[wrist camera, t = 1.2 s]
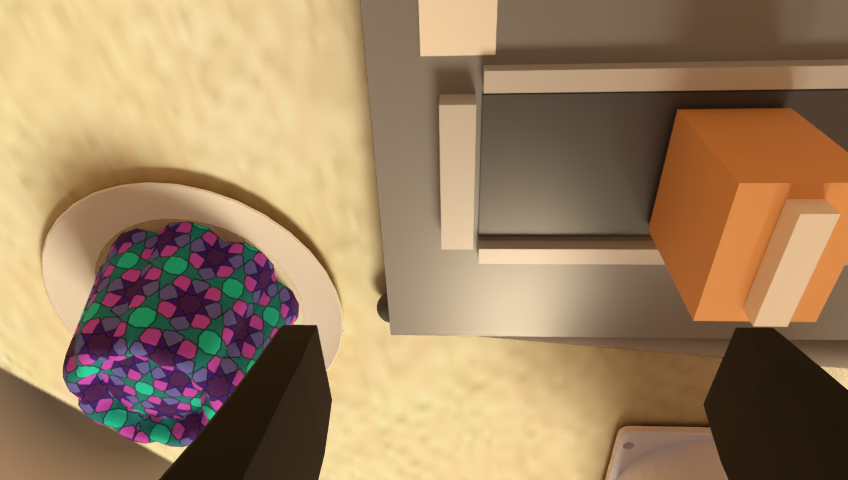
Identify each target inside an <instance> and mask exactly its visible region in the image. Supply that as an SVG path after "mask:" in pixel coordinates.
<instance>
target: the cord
mask: <svg viewBox="0 0 848 480" xmlns="http://www.w3.org/2000/svg"><path fill="white" fill-rule="evenodd" d="M480 337H492V338H503V339H515V340H526V341H538V342H549V343H561V344H572V345H584V346H595V347H607V348H618V349H630V350H641V351H653V352H664V353H676V354H687V355H699V356H710V357H722V358H723V357H724V355H725V352H726V350H727V347H728V345H729V343H730V340H731V339H703V338H616V337H530V336H480ZM788 340H789V341H790V342H791V343H793V344H794V345H795V346H796V347H797V348H799V349H800V350H801V351H802V352H803V353H805V354H806V355H807V356H808V357H809V358H810V359H812V360H813V361H814V362H815V363H816V364H818V365H819V366H825V367H837V368H848V340H790V339H788Z"/></svg>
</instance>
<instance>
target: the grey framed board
mask: <svg viewBox="0 0 848 480" xmlns="http://www.w3.org/2000/svg"><path fill="white" fill-rule="evenodd" d="M360 3H361V14H362V25H363V36H364V47H365V58H366V69H367V80H368V91H369V102H370V112H371V123H372V134H373V145H374V156H375V167H376V178H377V189H378V200H379V211H380V222H381V233H382V244H383V254H384V265H385V276H386V287H387V298H388V309H389V320H390V331H391V335H443V336H530V337H616V338H703V339H731V338H732V336H733V333H734V331H735V328H774V329H775V330H776V331H778V332H779V333H780V334H781V335H783V336H784V337H785V338H786V339H790V340H848V260H847V262H846V264H845V266H844V268H843V270H842V271H841V273H840V275H839V277H838V279H837V281H836V283H835V285H834V287H833V289H832V291H831V293H830V295H829V297H828V299H827V301H826V303H825V305H824V307H823V309H822V311H821V313H820V315H819V317H818V319H817V321H816V322H790V323H789V325H788V327H760V326H752V324H751V322H750V321H693V319H692V317H691V315H690V313H689V311H688V309H687V307H686V305H685V303H684V301H683V299H682V297H681V295H680V293H679V291H678V289H677V287H676V285H675V283H674V281H673V279H672V277H671V275H670V273H669V271H668V269H667V267H666V265H665V263H664V261H663V259H662V257H661V255H660V253H659V251H658V249H657V247H656V245H655V243H654V241H653V239H652V237H651V235H650V233H649V231H648V229H649V225H650V221H651V217H652V213H653V209H654V204H655V200H656V196H657V192H658V188H659V184H660V180H661V175H662V171H663V167H664V163H665V159H666V155H667V151H668V146H669V142H670V138H671V134H672V130H673V126H674V122H675V117H676V113H677V109H751V108H792V109H793V110H794V111H796V112H797V113H798V114H799V115H801V116H802V117H803V118H805V119H806V120H807V121H808V122H810V123H811V124H812V125H814V126H815V127H816V128H817V129H819V130H820V131H821V132H822V133H824V134H825V135H826V136H828V137H829V138H830V139H831V140H833V141H834V142H835V143H837V144H838V145H839V146H840V147H842V148H843V149H844V150H846V151H847V152H848V0H360Z"/></svg>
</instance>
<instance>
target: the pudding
mask: <svg viewBox="0 0 848 480" xmlns="http://www.w3.org/2000/svg"><path fill="white" fill-rule="evenodd" d="M160 219H183V220H192V221H197V222H202V223H207V224H211V225H214V226H217V227H219V228H222V229H225V230H228V231H230V232H232V233H234V234H236V235H239V236H241V237H243V238H245V239H247V240H248V241H250V242H251V243H253V244H254V245H256V246H257V247H259V248H260V249H262V250H263V251H264V252H266V253H267V254H268V255H269V256H270V257H271V258H272V259H273V260H275V261H276V262H277V263H278V264H279V265H280V267H281V268H282V269H283V270H284V271H285V273H286V274H287V275H288V276H289V278H290V280H291V281H292V283H293V285H294V286H295V288H296V290H297V292H298V295H299V298H300V301H301V304H302V312H303V323H302V325H317V327H318V332H319V337H320V342H321V347H322V352H323V357H324V362H325V367H326V372H327V371H328V369H329V368H330V367H331V366H332V364H333V363H334V361H335V359H336V356H337V354H338V352H339V350H340V348H341V342H342V337H343V332H344V327H343V311H342V308H341V304H340V301H339V298H338V294H337V291H336V289H335V287H334V285H333V283H332V282H331V280H330V278H329V276H328V274H327V272H326V271H325V269H324V268H323V267H322V265H321V264H320V263H319V262H318V260H317V259H316V258H315V256H314V255H313V254H312V253H311V251H310V250H309V249H308V248H307V247H306V246H304V245H303V244H302V243H301V242H300V241H299V240H298V239H297V238H296V237H295V236H294V235H293V234H292V233H291V232H289V231H288V230H286V229H285V228H284V227H282V226H281V225H279V224H278V223H276V222H275V221H273V220H272V219H271V218H269V217H268V216H266V215H265V214H263V213H261V212H259V211H257V210H255V209H253V208H251V207H249V206H247V205H245V204H243V203H241V202H239V201H237V200H234V199H231V198H228V197H226V196H223V195H220V194H217V193H214V192H211V191H209V190H204V189H199V188H194V187H190V186H185V185H180V184H169V183H152V182H144V183H134V184H124V185H117V186H114V187H111V188H107V189H104V190H100V191H97V192H94V193H92V194H90V195H88V196H86V197H84V198H83V199H81V200H79V201H77V202H75V203H73V204H72V205H71V206H70V207H69V208H68V209H67V210H66V211H65V212H63V213H62V214H61V215H60V216H59V217H58V218H57V220H56V221H55V223H54V224H53V226H52V228H51V229H50V231H49V232H48V234H47V237H46V240H45V244H44V247H43V251H42V277H43V281H44V285H45V290H46V293H47V296H48V298H49V300H50V302H51V304H52V306H53V309H54V311H55V313H56V314H57V316H58V317H59V319H60V320H61V321H62V323H63V324H64V326H65V327H66V329H67V330H68V331H69V332H70V333H71V335H72V336H73V338H72V341H71V343H70V346H69V348H68V351H67V353H66V356H65V360H64V365H63V378H64V381H65V383H66V386H67V387H68V389H69V391H70V392H72V393H73V394H74V395H75V396H77V397H78V398H79V403H78V405H79V407H80V408H81V409H82V411H83V412H84V413H85V414H86V415H87V417H89V418H91V419H92V420H93V421H95V422H97V423H98V424H102V425H105V426H109V427H113V428H114V429H115V430H116V431H117V432H118V433H119V434H120V435H121V436H123V437H125V438H127V439H129V440H132V441H135V442H140V443H145V444H146V443H151V442H160V443H163V444H165V445H168V446H172V447H184V446H189V445H190V443H191V442H192V441H193V440H194V439H195V438H196V437H197V435H198V434H199V433H200V432H201V431H202V429H203V428H204V427H205V426H206V424H207V423H208V422H209V421H210V419H211V418H212V417H213V416H214V414H215V413H216V412H217V411H218V409H219V408H220V407H221V406H222V404H223V403H224V402H225V400H226V399H227V398H228V397H229V395H230V394H231V393H232V392H233V390H234V389H235V388H236V386H237V385H238V384H239V382H240V381H241V380H242V378H243V377H244V376H245V374H246V373H247V372H248V371H249V369H250V368H251V366H252V365H253V364H254V362H255V361H256V360H257V358H258V357H259V356H260V354H261V353H262V351H263V350H264V349H265V347H266V346H267V344H268V343H269V342H270V340H271V339H272V337H273V336H274V335H275V333H276V332H277V330H278V329H279V328H280V327H281V326H283V325H293V324H294V322H295V321H296V319H297V318H298V310H299V304H298V302H297V300H296V298H295V296H294V294H293V292H292V291H291V290H290V289H288V288H286V287H285V286H283V285H281V284H280V283H278V282H276V281H275V273H274V265H273V264H272V263H271V262H270V261H269V259H268V258H267V257H266V256H265V255H264V254H263V253H262V252H261V251H259V250H257V249H255V248H253V247H251V246H250V245H248V244H246V243H235V242H223V241H222V240H221V239H220V238H219V237H218V236H217V235H216V234H215V233H214V232H212V231H211V230H210V229H209V228H208V227H204V226H201V225H197V224H194V223H191V222H176V223H170V224H168V225H167V226H166V227H165V228H164V229H163V230H162V231H161V232H159V233H154V232H149V231H145V230H141V229H134V230H131V231H128V232H125V233H122V234H121V235H120V236H119V237H118V238H117V240H116V241H115V242H114V243H113V244H112V247H111V249H110V252H109V254H108V257H107V259H106V262H105V264H104V265H103V266H101V267H100V269H99V272H98V275H97V277H96V280H95V271H96V263H97V261H98V258H99V255H100V252H101V251H102V250H103V248H104V247H105V245H106V244H107V243H108V241H109V240H111V239H112V238H113V237H114V236H115V235H117V234H118V233H119V232H121V231H123V230H125V229H127V228H129V227H131V226H133V225H135V224H139V223H143V222H146V221H150V220H160Z"/></svg>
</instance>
